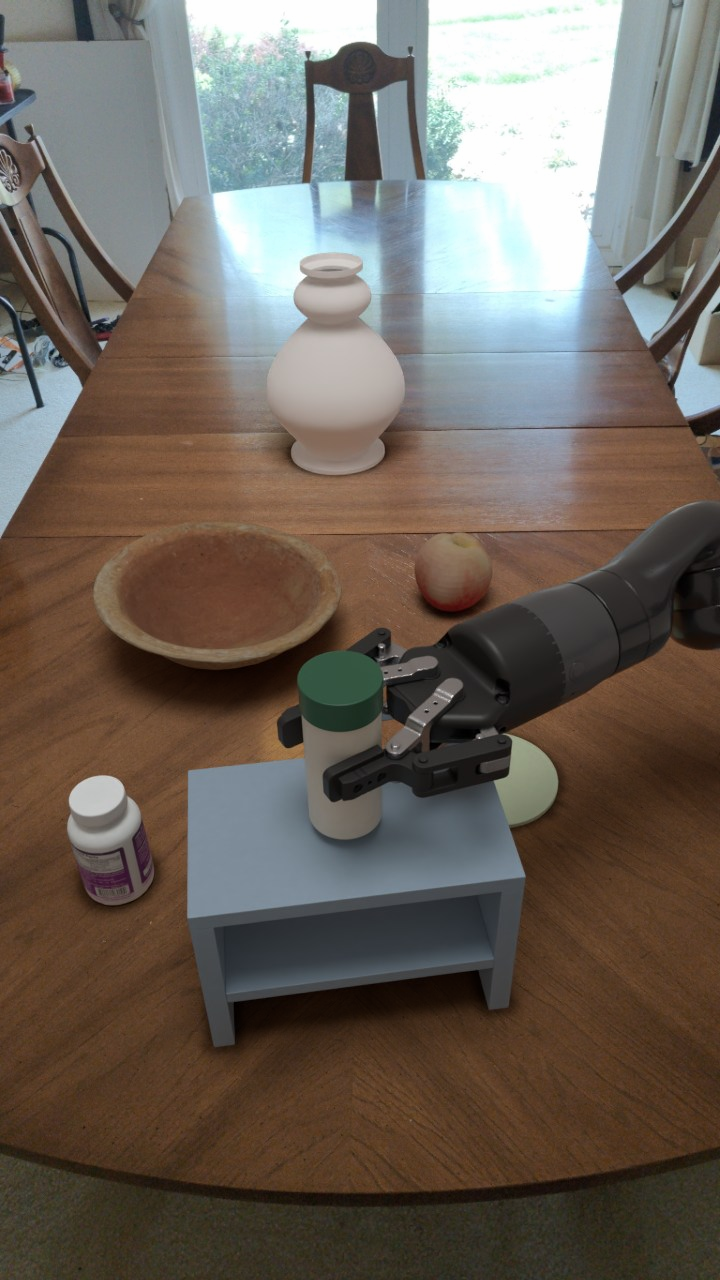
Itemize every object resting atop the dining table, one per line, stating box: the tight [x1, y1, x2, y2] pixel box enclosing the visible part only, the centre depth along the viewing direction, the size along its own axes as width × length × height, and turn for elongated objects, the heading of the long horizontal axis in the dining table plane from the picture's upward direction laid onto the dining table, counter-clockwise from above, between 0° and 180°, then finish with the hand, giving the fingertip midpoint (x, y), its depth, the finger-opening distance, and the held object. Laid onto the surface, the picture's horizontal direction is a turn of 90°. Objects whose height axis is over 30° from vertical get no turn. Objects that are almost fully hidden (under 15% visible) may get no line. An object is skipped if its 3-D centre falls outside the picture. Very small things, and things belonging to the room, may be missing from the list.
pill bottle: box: [66, 774, 155, 906], centre depth 73 cm, size 5×5×10 cm
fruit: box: [414, 531, 493, 613], centre depth 102 cm, size 8×8×8 cm
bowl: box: [92, 521, 343, 671], centre depth 97 cm, size 24×24×8 cm
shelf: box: [186, 743, 527, 1048], centre depth 66 cm, size 12×20×14 cm, turn 98°
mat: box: [494, 733, 559, 829], centre depth 84 cm, size 11×11×1 cm
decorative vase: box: [265, 251, 406, 476], centre depth 124 cm, size 18×18×25 cm
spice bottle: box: [296, 650, 384, 839], centre depth 58 cm, size 5×5×11 cm
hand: (303, 759), depth 57 cm, fingers closed on spice bottle, 4 cm apart
